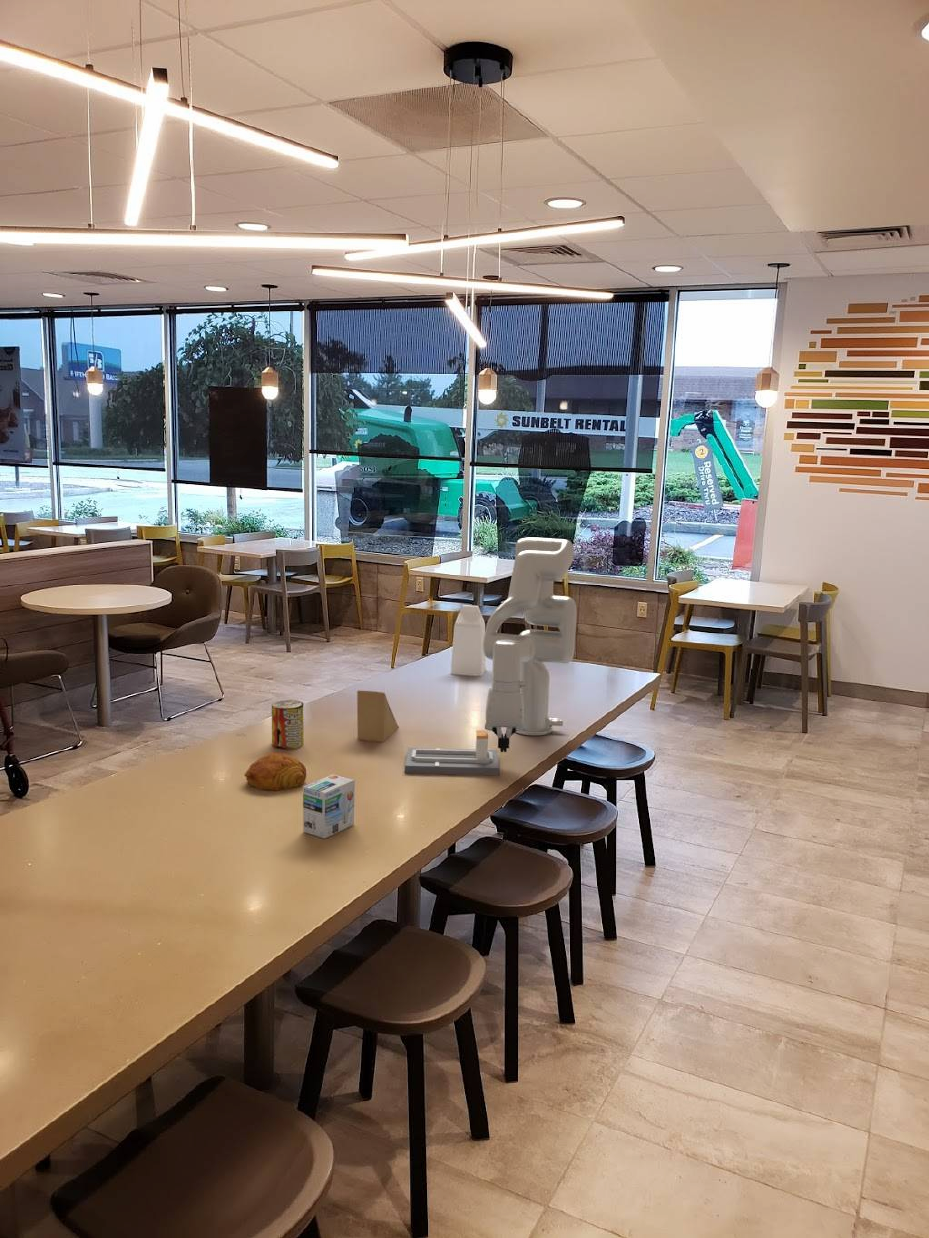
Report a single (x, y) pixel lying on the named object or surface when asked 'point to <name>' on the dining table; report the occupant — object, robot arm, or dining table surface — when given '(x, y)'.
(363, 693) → the sandwich container
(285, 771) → the croissant
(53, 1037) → the dining table surface
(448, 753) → the board
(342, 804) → the light bulb box
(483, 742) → the fader knob
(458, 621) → the white tall block
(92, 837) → the dining table surface
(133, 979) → the dining table surface
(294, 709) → the beverage can
